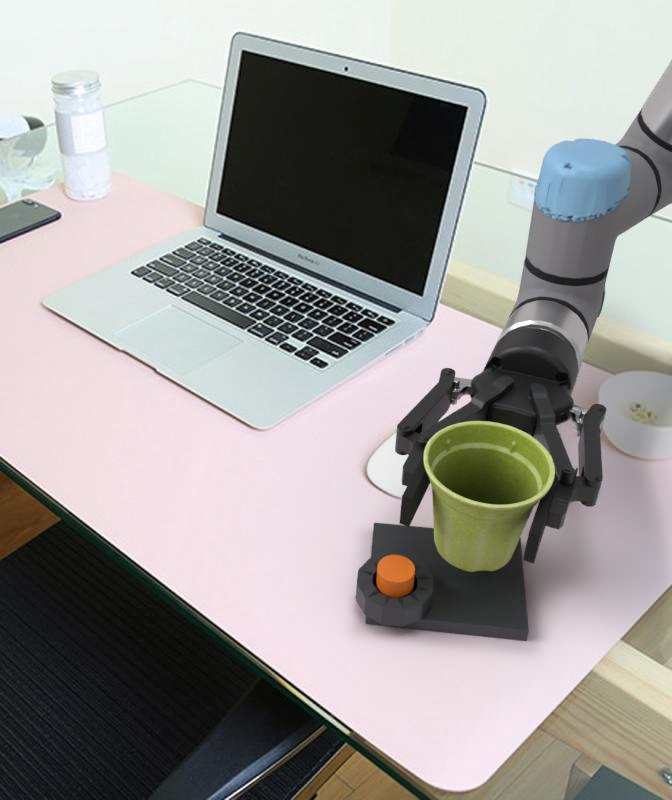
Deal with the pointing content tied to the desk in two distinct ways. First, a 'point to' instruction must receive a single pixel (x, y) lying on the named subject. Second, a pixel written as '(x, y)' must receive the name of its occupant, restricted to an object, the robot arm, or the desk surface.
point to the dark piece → (443, 590)
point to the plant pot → (484, 490)
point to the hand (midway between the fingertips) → (467, 529)
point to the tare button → (395, 576)
